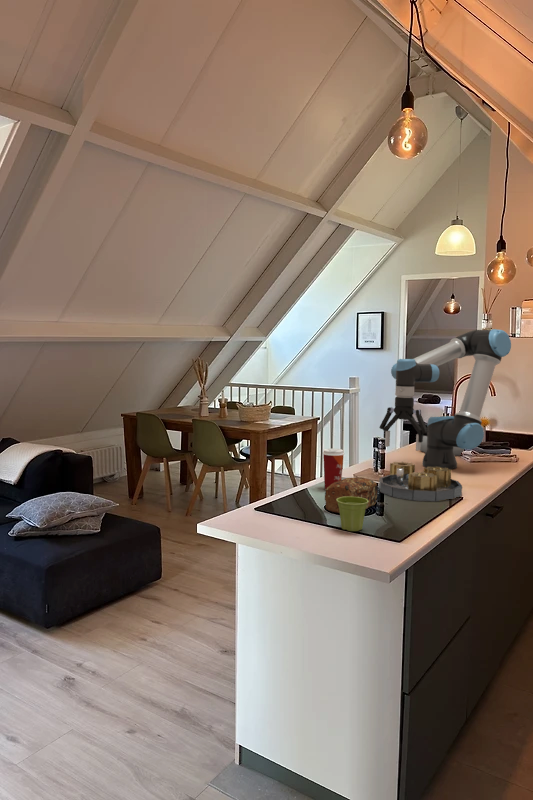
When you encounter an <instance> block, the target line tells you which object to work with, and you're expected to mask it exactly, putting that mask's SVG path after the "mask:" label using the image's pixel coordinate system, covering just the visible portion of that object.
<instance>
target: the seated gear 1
mask: <svg viewBox="0 0 533 800" xmlns="http://www.w3.org/2000/svg"><path fill="white" fill-rule="evenodd" d="M420 475H424V476H420ZM436 488H437V475H434V474H433V473H424V471H421V472H412V474H409V478H408V489H411V490H428V491H436Z"/></svg>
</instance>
